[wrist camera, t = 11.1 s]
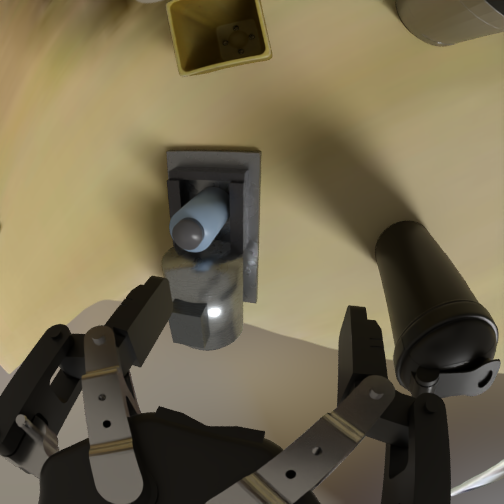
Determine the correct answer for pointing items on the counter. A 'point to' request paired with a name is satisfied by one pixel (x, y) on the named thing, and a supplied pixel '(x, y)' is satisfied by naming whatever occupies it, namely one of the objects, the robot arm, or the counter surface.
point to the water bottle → (434, 317)
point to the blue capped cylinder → (200, 219)
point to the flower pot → (217, 34)
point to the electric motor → (214, 248)
